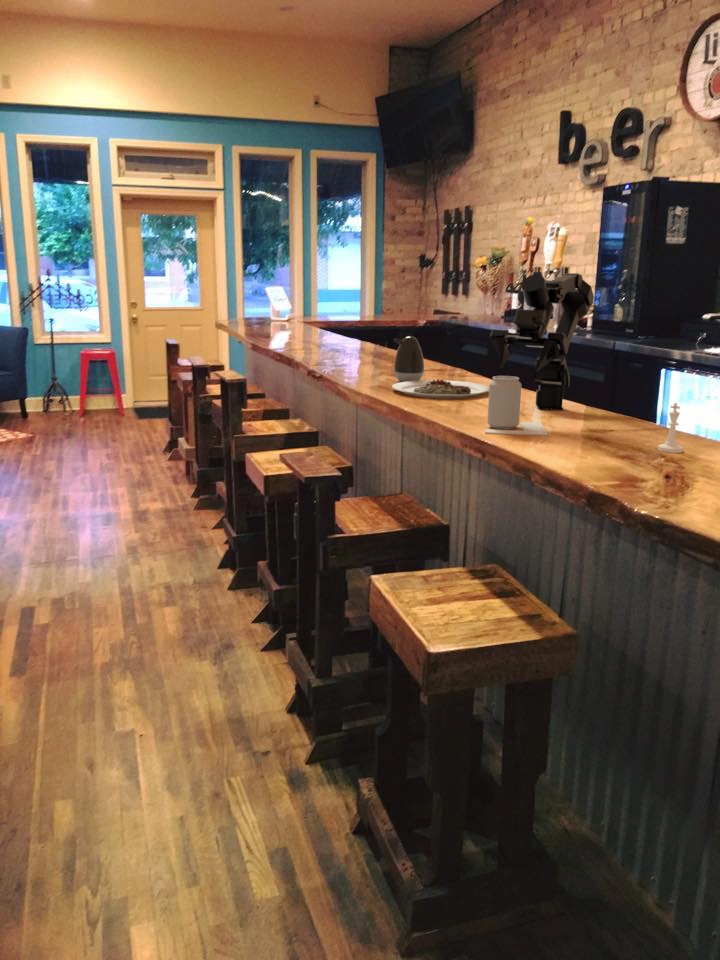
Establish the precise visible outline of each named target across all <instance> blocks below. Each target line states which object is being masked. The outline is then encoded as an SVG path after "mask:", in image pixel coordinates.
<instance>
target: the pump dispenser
mask: <svg viewBox="0 0 720 960" xmlns="http://www.w3.org/2000/svg"><path fill="white" fill-rule="evenodd" d="M393 341H394V343H397V344H399V346H398V348H397V350H396V353H395V356H394V364H393V372H394V375H395V378H396V380H398V381H399V382H407V381H420V380H421V379H422V377H423V374H424V372H425V361H424V360H425V359H424V355H423V351H422V347H421V346H420V343H419V341H418V339H417V338H416V337H414V336H413V335H407V336H405V337H404V338H403V339H398V338H397V337H396V338H394V339H393Z"/></svg>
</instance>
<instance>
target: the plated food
mask: <svg viewBox="0 0 720 960" xmlns="http://www.w3.org/2000/svg"><path fill="white" fill-rule="evenodd" d="M391 388H392V389H393V390H394V391H398V392H401V393H403V394H406V395H408V396H414V397H420V398H430V399H460V398H464V399H465V398H471V397H475V396H478V395H482V394H486V393H489V386H487V385H486V384H485V385H484V384H481V383H476V382H469V381H461V380H460V381H458V380H444V379H441V380H440V379H439V378H437V379H433V380H431V379H428V380H427V379H426V380H424V379H422V380H421V379H420V380H419V381H407V382H401V381H399V382H395V383H394V384H392V385H391Z"/></svg>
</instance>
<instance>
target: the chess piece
mask: <svg viewBox="0 0 720 960" xmlns="http://www.w3.org/2000/svg"><path fill="white" fill-rule="evenodd" d="M677 405H678V403H677V402H674V404H673V405H670V409H673V410H671V411H669V418H670V421H669V422H667V425H669V427H670V428H669V431H668V435H667V439H666V441H665V442H664V443H662V444H661V443H660V444H659V445H658V446H657V450H658V451H661V452H663V453H670V454H671V453H672V454H673V453H674V454H677V453H682V452H683V451H684V450H683V446H681V445H679V444H678V442H676V426H679V425H680V424H679V423H678V422H677V421H678V418H679V416H680V414H681V413H680V412H679V411H677V409H678V410H679V409H680V407H681V406H677Z"/></svg>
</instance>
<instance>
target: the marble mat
mask: <svg viewBox="0 0 720 960" xmlns="http://www.w3.org/2000/svg"><path fill="white" fill-rule="evenodd" d="M519 425H520V427H521V429H522V430H521V429H520V430H518V429H515V430H514V429H495V428H492V429H488V428H485V429H484V433H485V434H488V435H489V434H490V435H491V434H492V435H494V434H495V435H517V436H519V435H521V436H524V435H525V436H548V435H549V434H548V432H547V430H546V428H545V427H544V426H543V424H542V422H528V421H524V422H522V421H519Z"/></svg>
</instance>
